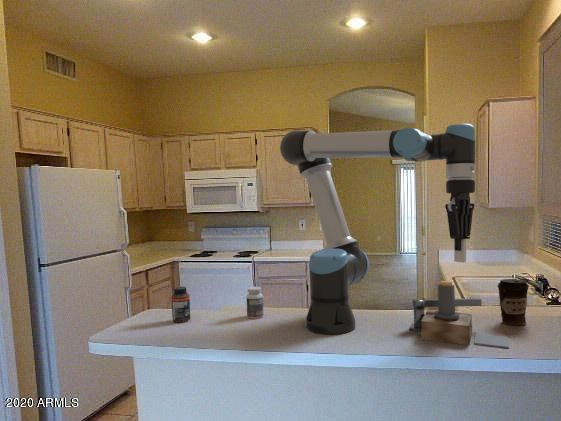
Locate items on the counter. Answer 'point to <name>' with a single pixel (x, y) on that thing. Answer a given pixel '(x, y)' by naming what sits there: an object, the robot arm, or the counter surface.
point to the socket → (447, 328)
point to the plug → (446, 302)
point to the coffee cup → (513, 301)
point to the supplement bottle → (180, 305)
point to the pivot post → (417, 319)
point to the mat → (491, 340)
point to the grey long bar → (434, 302)
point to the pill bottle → (255, 303)
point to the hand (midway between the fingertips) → (460, 261)
